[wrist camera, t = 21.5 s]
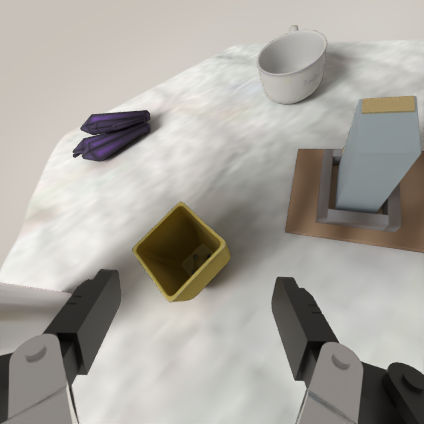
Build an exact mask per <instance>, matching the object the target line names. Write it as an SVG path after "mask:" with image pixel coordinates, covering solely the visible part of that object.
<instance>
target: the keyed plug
mask: <svg viewBox="0 0 424 424" xmlns="http://www.w3.org/2000/svg"><path fill="white" fill-rule="evenodd" d="M420 154H421V144H420V133H419V122H418V110H417V99H416V96H402V97H386V98H369V99H362V100H359V102H358V105H357V109H356V112H355V115H354V118H353V122H352V125H351V128H350V131H349V135H348V138H347V141H346V145H345V148H344V151H343V154H342V158H341V161H340V164H339V168H338V172H337V185H336V198H335V210H343V211H353V212H362V213H372V214H376V212H377V211H378V210H379V208H380V207H381V206H382V204H383V203H384V202H385V200H386V199H387V198H388V196H389V195H390V194H391V192H392V191H393V190H394V189H395V187H396V186H397V185H398V183H399V182H400V181H401V179H402V178H403V177H404V175H405V174H406V173H407V171H408V170H409V169H410V167H411V166H412V165H413V163H414V162H415V161H416V159H417V158H418V157H419V156H420Z"/></svg>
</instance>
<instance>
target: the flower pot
mask: <svg viewBox="0 0 424 424" xmlns="http://www.w3.org/2000/svg"><path fill="white" fill-rule="evenodd" d="M132 251H133V253H134V255H135V256H136V258H137V259H138V261H139V262H140V263H141V265H142V266H143V267H144V269H145V270H146V272H147V273H148V274H149V276H150V277H151V278H152V280H153V281H154V283H155V284H156V286H157V287H158V288H159V290H160V291H161V293H162V294H163V296H164V297H165V298H166V299H167V300H168V301H169V302H177V301H187V300H191V299H193V298H194V297H195V296H197V295H198V294H199V293H200V292H201V290H202V289H203V288H204V287H205V286H206V285H207V284H208V283H209V282H210V281H211V280H212V279H213V278H214V277H215V276H216V274H217V273H218V272H219V271H220V270H221V269H222V268H223V267H224V266H225V265H226V264H227V263H228V262H229V260H230V257H231V255H230V252H229V249H228V247H227V244H226V242H225V240H224V239H223V238H222V237H220V236H219V235H218V234H217V233H216V232H215V231H213V230H212V229H211V228H210V227H209V226H208V225H207V224H205V223H204V222H203V221H202V220H201V219H200V218H199V217H198V216H197V215H196V214H195V213H194V212H193V211H192V210H191V209H190V208H189V207H188V206H187V205H186V204H185V203H183V202H179V203H178V204H177V205H176V206H175V207H174V208H173V209H172V210H171V211H170V212H169V213H168V214H167V215H166V216H165V217H164V218H163V219H162V220H161V221H160V222H159V223H158V224H157V225H156V226H155V227H154V228H152V229H151V230H150V231H149V232H148V233H147V234H146V235H145V236H144V237H143V238H142V239H141V240H140V241H139V242H138V243H137V244H136V245H135V246H134V247H133V249H132ZM208 255H211V257H210V258H208ZM194 256H197V258H196V259H194ZM193 271H196V272H195V273H194V274H193V273H192V272H193Z"/></svg>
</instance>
